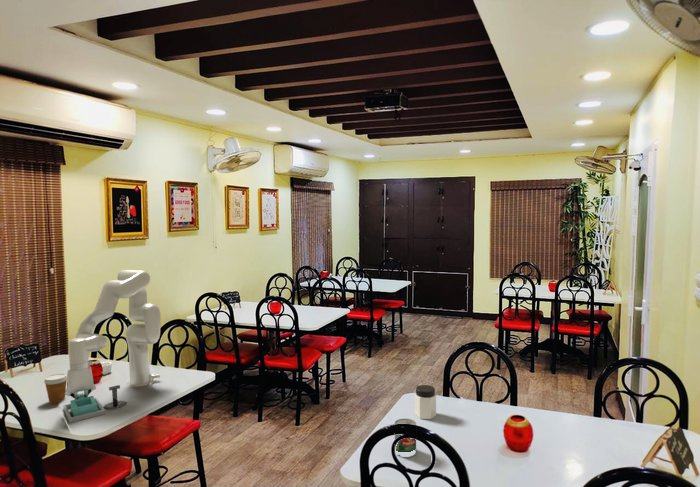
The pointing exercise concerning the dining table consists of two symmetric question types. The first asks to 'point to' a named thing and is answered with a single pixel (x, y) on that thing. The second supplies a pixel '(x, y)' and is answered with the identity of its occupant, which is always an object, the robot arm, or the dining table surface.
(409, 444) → the canned tomato
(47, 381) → the disposable coffee cup
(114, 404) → the grey t-shaped stand
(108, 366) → the teacup
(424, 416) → the jar
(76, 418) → the tray
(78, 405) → the teal box on base
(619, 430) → the dining table surface
